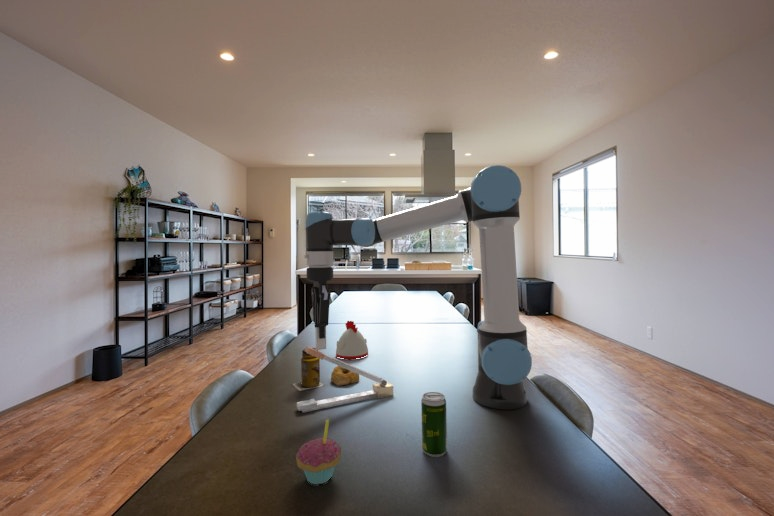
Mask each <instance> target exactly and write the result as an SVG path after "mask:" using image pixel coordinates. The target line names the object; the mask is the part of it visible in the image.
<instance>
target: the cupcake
mask: <svg viewBox="0 0 774 516" xmlns="http://www.w3.org/2000/svg"><path fill="white" fill-rule="evenodd" d="M329 418H330V415H329V416H328V417H327V419H326V420H325V424H324V425H325V426H324V430H323V431H324V433H323V437H318V438H313V439H310V440H308V441H307V442H305V443H303V444H302V445H301V446H300V447H299V449H298V450H297V453H296V456H295V457H296V459H295V460H296V465H297V467H298V468H299V469H300V470H303V473H304V475H305V478H306V480H307V481H306V482H308V481H309V482H310V483H314V484H317V483H323V482H326V481H328V480H329V479H330V478H331V477H332V478H333V474H334V470H335V468H336V466H337V465H338V463H339V462H340V461H341V458H342V457H341V456H342V447H341V446H340V444H338V443H337V441H335V440H333V439H331V438H328V433H329V432H328V431H329V425H330V419H329ZM332 478H331V479H332ZM309 482H308V483H309ZM310 483H309V484H310Z"/></svg>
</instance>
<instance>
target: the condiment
mask: <svg viewBox="0 0 774 516" xmlns="http://www.w3.org/2000/svg"><path fill="white" fill-rule="evenodd" d="M312 348H313V349H315V350H316V347H312ZM305 349H306V348H304V349H303V350H302V351H301V354H302V357H301V359H300V363H301V364H300V365H301V367H300V368H301V370H300V371H301V382H296V383H292V386H293V387H295V389H296V390H298V392H302V391H305V390H310V389H315V388H320V387H323V386H325V385H324V383H322V382H321V380H320V379H321V375H320V374H321V373H320V371H321V370H320V361H321V359H319V358H317V357H315V356H312V355H310V354H308V353H306V352H305ZM317 351H319V350H317ZM319 382H320V383H319ZM301 383H302V384H301ZM320 384H321V385H320ZM319 385H320V386H319Z"/></svg>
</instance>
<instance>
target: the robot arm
mask: <svg viewBox="0 0 774 516" xmlns="http://www.w3.org/2000/svg"><path fill="white" fill-rule="evenodd" d="M521 193H522V182H521V179H520V178H519V176H518V174H517V173H516V172H515V171H514V170H512V169H511V168H510V167H507V166H506V165H505V166H504V165H502V164H501V165H500V164H499V165H498V164H496V165H495V164H494V165H488V166H486V167H485V168H483V169H481V170H480V171H479V172H478V173H477V174H476V175H475V176H474V177H473V179H472V182H471V184H470V187H468V188H465V189H463V190H462V189H461V190H459V191H458V192H457V193H456V195H454V196H449V197H446V198H444V199H443V198H442V199H440V200H436V201H432V202H430V203H427V204H423V205H420V206H415V207H412V208H409V209H405V210H402V211H398V212H395V213H392V214H388V215H386V216H385V215H384V216H381V217H377V218H375V219H372V218H369V217H356V218H339V219H338V218H334V216H333V214H332V213H331V212H327V211H312V212H309V213H307V215H306V217H305V218H306V219H305V220H306V221H305V228H304V229H305V239H306V241H305V242H306V244H305V245H306V254H305V255H304V259H306V266H307V267H306V280H307V281H310V282H313V286H311V289H310V293H311V294H310V296H311V302H312V303H311V304H312V305H311V306H312V319H313V323H314V328H315V330H314V331H315V348H316V350H318V351H322V350H327V326H328V325H329V320H330V319H329V317H330V299H331V292H329V291H330V288H329V286H328V281H333V280H334V268H333V266H334V246H337V247H338V246H358V247H364V248H369V247H370V248H371V247H374V246H375V245H376V244H380V243H383V242H386V241H391V240H394V239H399V238H401V237H405V236H409V235H412V234H416V233H420V232H423V231H427V230H431V229H434V228H438V227H443V226H446V225H450V224H453V223H457V222H461V221H463V222H465V223H469V222H472V224H473V225H474V226H475V227H476V228H478V233H479V234H478V236H479V249H480V253H479V254H480V266H481V267H480V270H481V284H482V285H481V286H482V301H483V316H484V320H480V321H479V322H478V324H477V329H476V333H477V363H478V365H477V367H478V368H477V370H478V372H477V374H476V378H475V382H474V385H473V387H472V399H473V400H474V401H475V402H476V403H478V404H479V405H482V406H484V407H487V408H490V409H497V410H517V409H520V408H522V407H523V408H524V406H526V405H527V403H528V401H527V400H528V399H527V392H526V390H525V388H524V384H523V381H524V380H525V379H526V378H527V377H528V375H530V373H531V371H532V370H531V369H532V364H533V362H532V361H533V359H532V356H531V353H530V352H531V351H530V350H529V349H528V347H529V346H528V333H527V326H526V325H525V324H524V323H523V322H522V321H521V319H520V308H519V287H518V274H517V257H516V240H515V239H516V238H515V226H516V224H517V223H518V222H519V221H520V220H521V218H520V201H519V200H520V197H521V195H522V194H521Z"/></svg>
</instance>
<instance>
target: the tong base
mask: <svg viewBox="0 0 774 516" xmlns="http://www.w3.org/2000/svg"><path fill="white" fill-rule="evenodd" d="M392 396H394V385H393V384H391V383H390V381H387V385H385V386H384V385H383V384H380V383H378V382H376V383H372V390H371V389H370V390H367V391H366V390H365V391H361V392H355V393H351V394H345V395H341V396H335V397H330V398H325V399H320V400H319V399H318V400H315V398H311V399H306V400H301V401H297V402H296V408H297V410H298V412H300V411H301V412H302V413H308V412H312V411H313V412H314V411H319V410H322V409H323V410H324V409H328V408H332V407H337V406H343V405H348V404H352V403H358V402H362V401H367V400H373V399H383V398H389V397H392Z"/></svg>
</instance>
